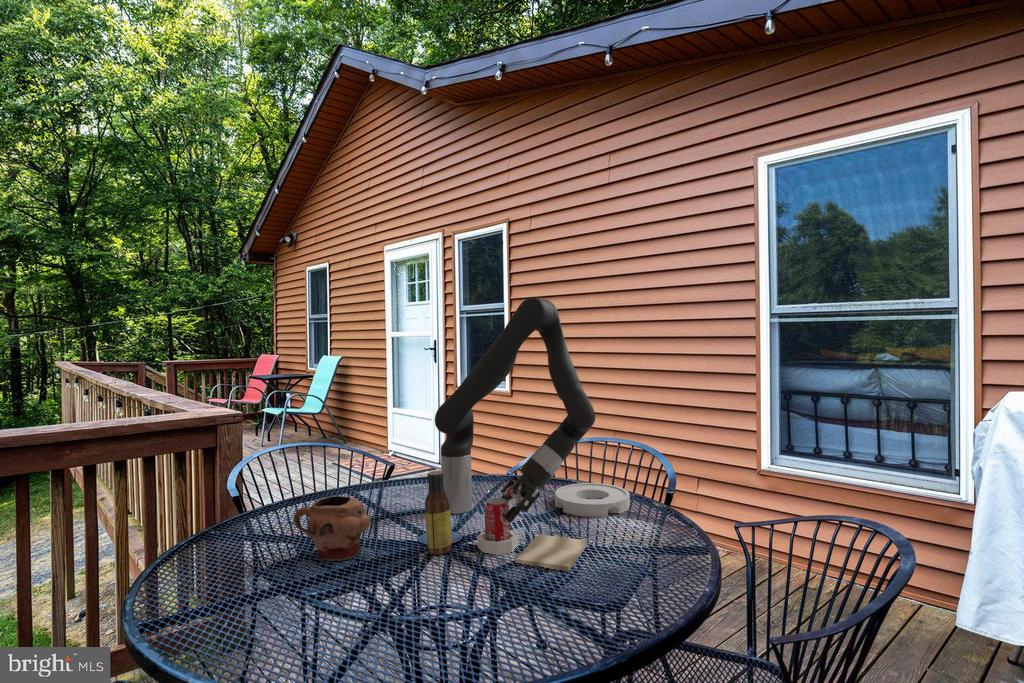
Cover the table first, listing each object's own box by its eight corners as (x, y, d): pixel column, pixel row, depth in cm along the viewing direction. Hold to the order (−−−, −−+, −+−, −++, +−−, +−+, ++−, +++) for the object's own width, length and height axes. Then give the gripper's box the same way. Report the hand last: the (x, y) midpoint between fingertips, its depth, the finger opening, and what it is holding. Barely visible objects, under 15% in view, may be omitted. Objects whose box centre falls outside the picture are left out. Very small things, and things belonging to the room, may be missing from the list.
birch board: (515, 564, 136) (515, 559, 136) (539, 538, 152) (539, 534, 152) (568, 571, 131) (568, 566, 131) (587, 545, 147) (587, 540, 147)
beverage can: (511, 543, 149) (510, 497, 149) (508, 552, 143) (507, 504, 143) (487, 542, 150) (486, 496, 149) (483, 552, 144) (482, 504, 143)
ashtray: (623, 521, 165) (622, 507, 165) (545, 513, 173) (545, 500, 173) (635, 498, 187) (634, 486, 187) (565, 492, 195) (565, 480, 195)
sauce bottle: (456, 547, 147) (454, 470, 146) (445, 557, 141) (443, 476, 140) (433, 545, 149) (431, 468, 148) (421, 554, 143) (419, 474, 142)
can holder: (472, 552, 144) (472, 540, 144) (488, 538, 152) (488, 527, 152) (507, 557, 140) (507, 544, 140) (521, 543, 149) (521, 531, 149)
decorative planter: (282, 565, 138) (280, 507, 137) (302, 546, 150) (301, 493, 150) (365, 565, 137) (363, 507, 137) (379, 545, 149) (377, 492, 149)
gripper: (522, 451, 156) (482, 498, 152) (543, 462, 143) (500, 514, 139) (540, 469, 158) (502, 516, 154) (563, 481, 144) (521, 533, 141)
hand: (501, 515), depth 147 cm, fingers open, 8 cm apart
